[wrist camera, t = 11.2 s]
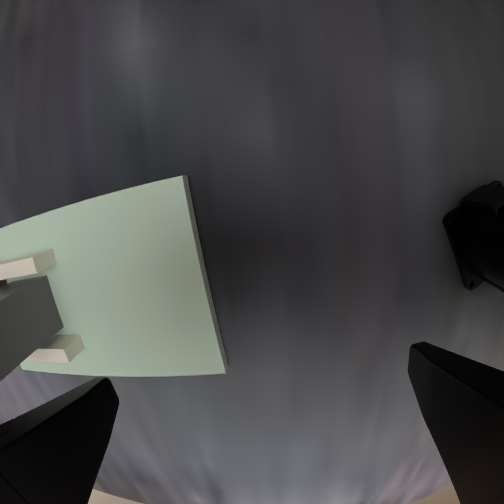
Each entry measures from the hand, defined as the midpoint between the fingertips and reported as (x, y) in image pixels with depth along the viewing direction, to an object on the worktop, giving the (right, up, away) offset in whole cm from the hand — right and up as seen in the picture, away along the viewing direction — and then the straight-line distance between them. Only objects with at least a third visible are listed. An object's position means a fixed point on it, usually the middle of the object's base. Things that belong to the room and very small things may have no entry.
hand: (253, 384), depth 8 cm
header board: (-14, 0, +14) cm, 20 cm away
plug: (-18, -1, +14) cm, 23 cm away
